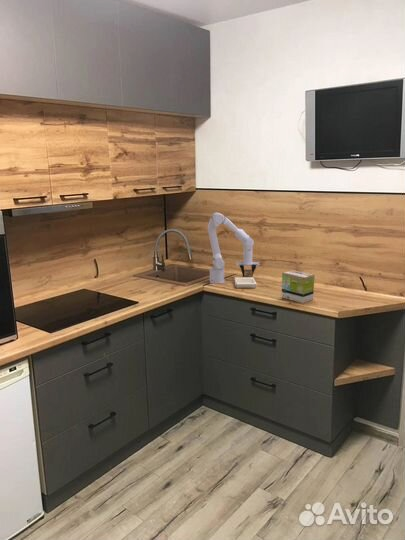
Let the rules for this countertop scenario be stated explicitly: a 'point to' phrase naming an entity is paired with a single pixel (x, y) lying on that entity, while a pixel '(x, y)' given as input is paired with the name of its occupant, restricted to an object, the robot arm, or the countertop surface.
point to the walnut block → (247, 273)
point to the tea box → (297, 286)
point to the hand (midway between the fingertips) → (247, 276)
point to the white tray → (245, 282)
